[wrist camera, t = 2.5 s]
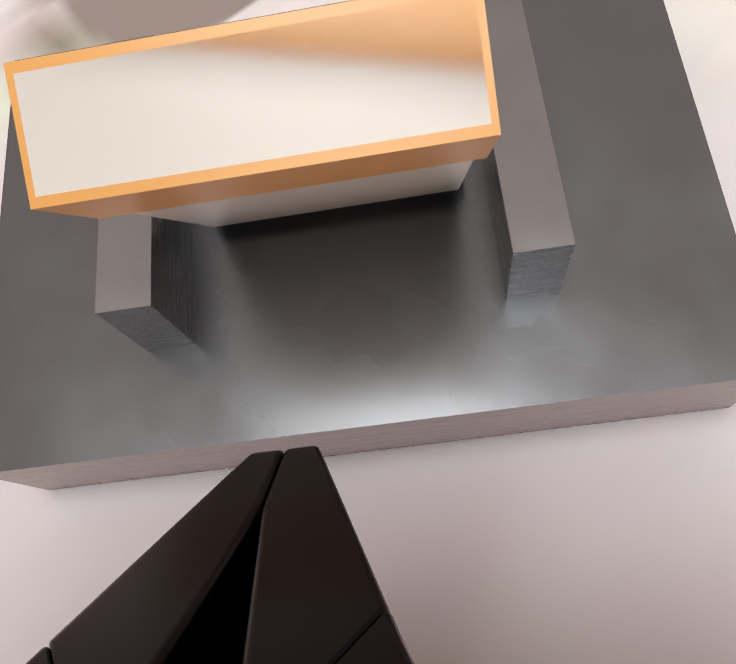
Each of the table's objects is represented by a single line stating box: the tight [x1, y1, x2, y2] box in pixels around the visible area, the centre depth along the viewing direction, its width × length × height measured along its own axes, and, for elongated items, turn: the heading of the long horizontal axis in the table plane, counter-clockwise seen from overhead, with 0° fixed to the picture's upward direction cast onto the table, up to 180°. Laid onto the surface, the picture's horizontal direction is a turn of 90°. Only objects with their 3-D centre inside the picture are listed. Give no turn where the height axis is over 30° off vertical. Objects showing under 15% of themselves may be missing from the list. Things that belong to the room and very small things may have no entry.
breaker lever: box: [4, 0, 501, 227], centre depth 13 cm, size 2×6×8 cm, turn 95°
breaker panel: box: [0, 0, 736, 490], centre depth 18 cm, size 12×18×6 cm, turn 96°
